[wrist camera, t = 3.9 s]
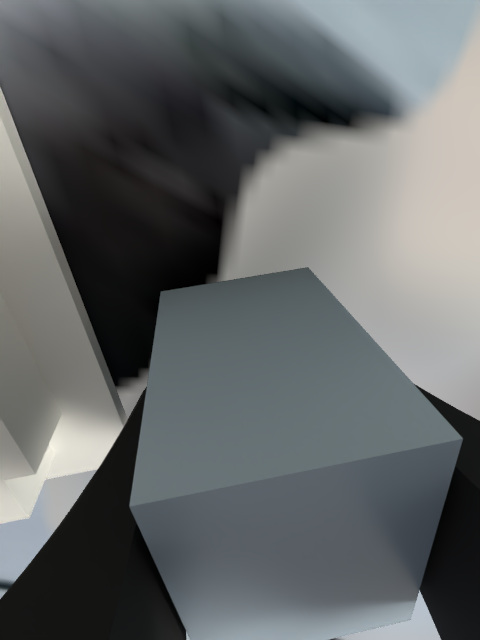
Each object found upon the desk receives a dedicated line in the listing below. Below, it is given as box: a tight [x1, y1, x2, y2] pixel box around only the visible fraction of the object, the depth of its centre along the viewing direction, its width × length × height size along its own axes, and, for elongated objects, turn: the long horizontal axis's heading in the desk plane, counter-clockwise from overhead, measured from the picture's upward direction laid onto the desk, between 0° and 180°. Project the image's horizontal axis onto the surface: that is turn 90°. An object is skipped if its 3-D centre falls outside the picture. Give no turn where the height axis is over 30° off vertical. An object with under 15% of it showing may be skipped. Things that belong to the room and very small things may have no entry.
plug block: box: [129, 268, 463, 640], centre depth 8 cm, size 5×4×6 cm
